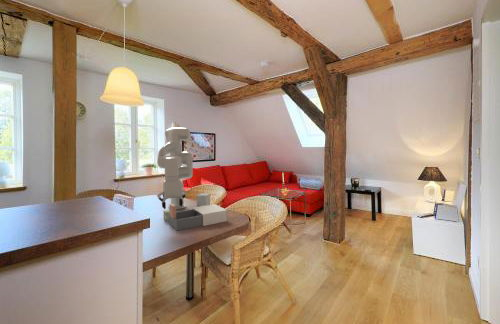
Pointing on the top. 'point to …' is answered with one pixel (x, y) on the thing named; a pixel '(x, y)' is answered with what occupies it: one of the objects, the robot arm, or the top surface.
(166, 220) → the sage block
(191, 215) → the tray
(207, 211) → the white drawer housing
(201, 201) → the supplement box
